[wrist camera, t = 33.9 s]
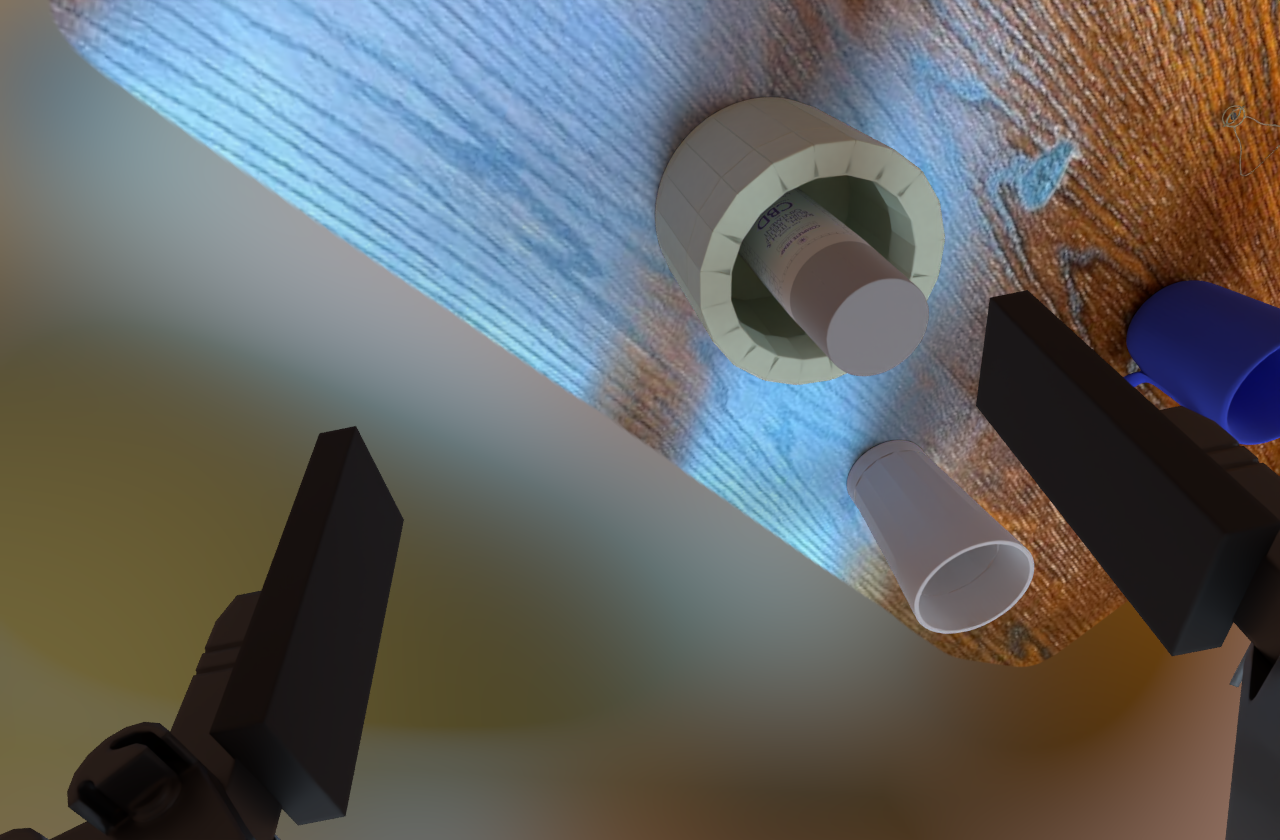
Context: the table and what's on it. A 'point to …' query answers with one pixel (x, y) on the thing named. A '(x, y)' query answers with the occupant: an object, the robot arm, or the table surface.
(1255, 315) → the mug
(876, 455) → the cup
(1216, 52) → the table surface
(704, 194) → the round pot
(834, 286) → the container
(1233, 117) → the necklace
